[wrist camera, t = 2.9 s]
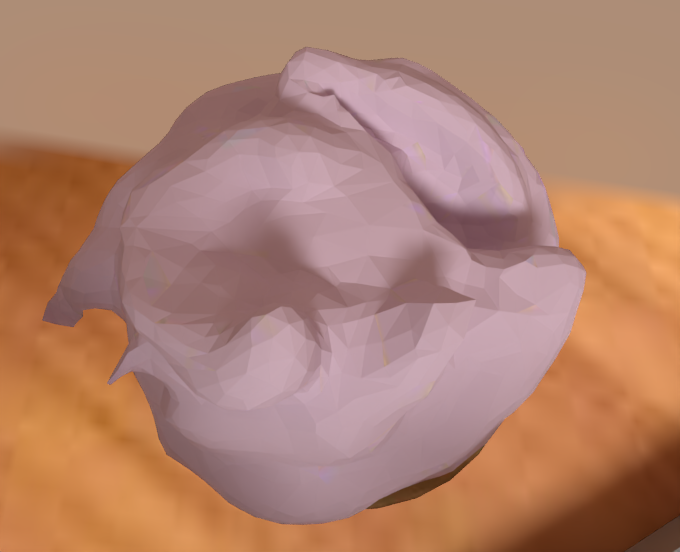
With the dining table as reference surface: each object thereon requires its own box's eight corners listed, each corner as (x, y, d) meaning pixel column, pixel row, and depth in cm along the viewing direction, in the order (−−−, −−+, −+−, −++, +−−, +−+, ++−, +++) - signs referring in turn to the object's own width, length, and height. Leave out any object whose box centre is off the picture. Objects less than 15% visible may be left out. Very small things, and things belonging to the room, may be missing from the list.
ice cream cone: (221, 451, 19) (-236, 461, 5) (267, 261, 21) (23, -154, 6) (435, 497, 19) (638, 667, 4) (466, 297, 20) (692, -79, 6)
